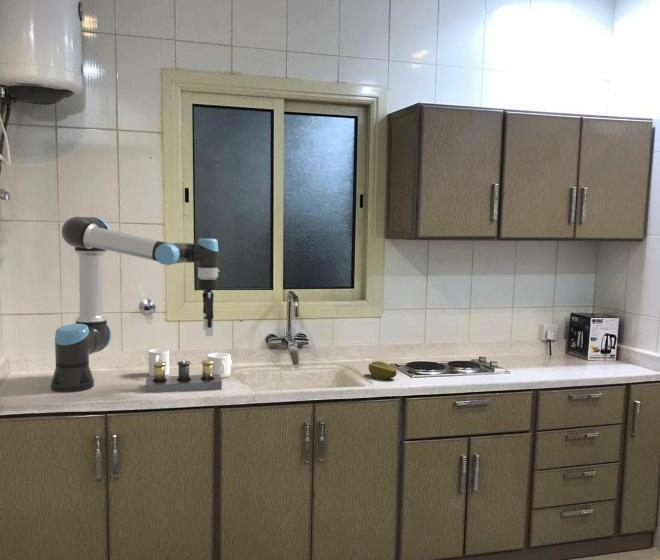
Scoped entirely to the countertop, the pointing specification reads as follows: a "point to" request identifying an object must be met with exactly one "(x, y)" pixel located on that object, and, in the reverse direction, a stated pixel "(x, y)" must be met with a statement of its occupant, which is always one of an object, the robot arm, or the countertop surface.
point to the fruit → (382, 370)
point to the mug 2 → (221, 363)
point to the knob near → (159, 371)
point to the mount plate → (183, 384)
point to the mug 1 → (158, 359)
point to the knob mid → (183, 370)
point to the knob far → (207, 369)
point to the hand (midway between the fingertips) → (207, 332)
